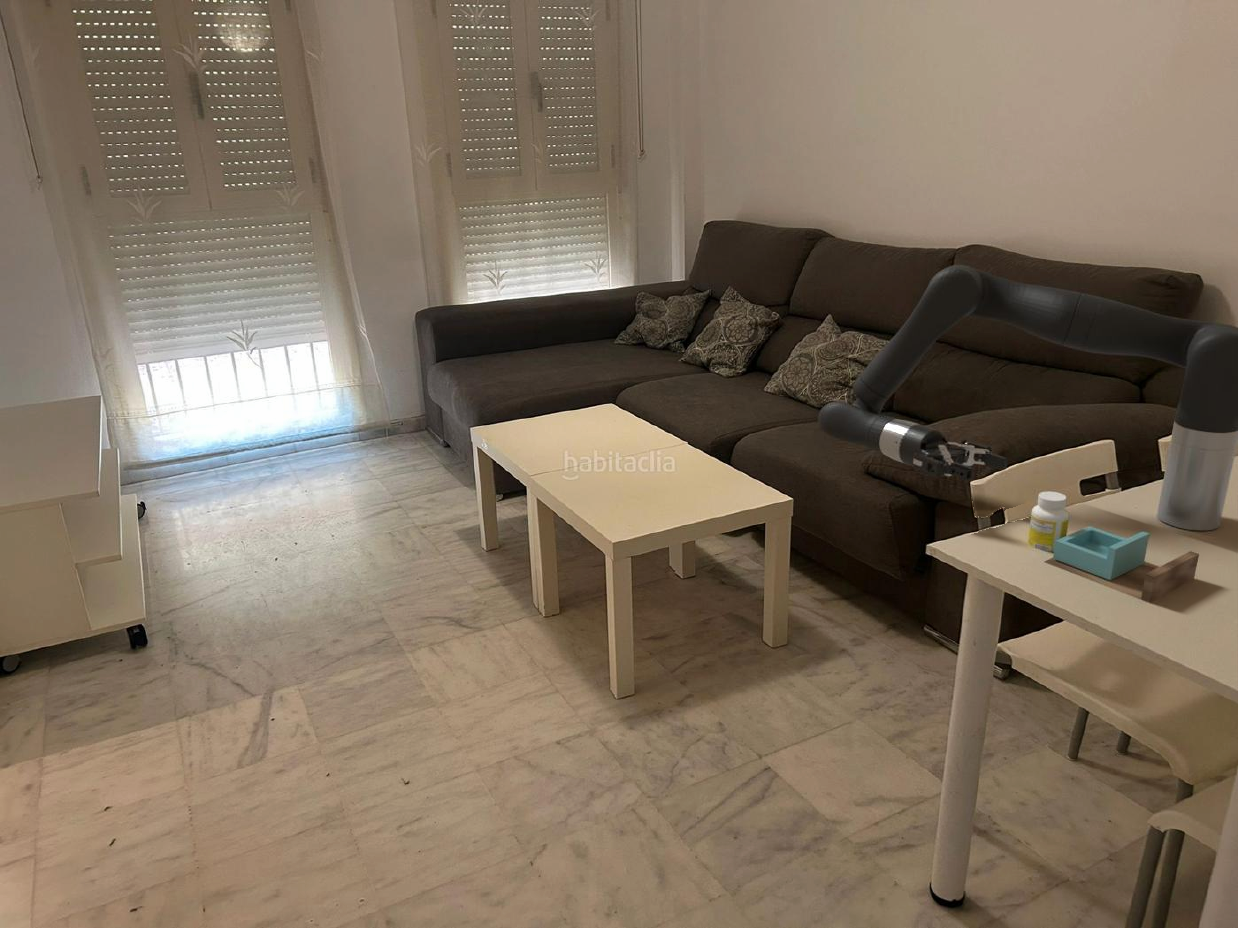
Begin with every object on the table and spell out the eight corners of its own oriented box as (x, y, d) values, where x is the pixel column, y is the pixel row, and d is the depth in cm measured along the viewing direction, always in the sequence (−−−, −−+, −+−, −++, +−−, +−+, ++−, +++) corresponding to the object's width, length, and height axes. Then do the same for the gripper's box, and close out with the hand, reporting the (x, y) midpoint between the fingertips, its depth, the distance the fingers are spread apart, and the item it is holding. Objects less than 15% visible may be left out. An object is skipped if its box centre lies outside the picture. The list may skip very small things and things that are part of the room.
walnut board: (1087, 550, 144) (1092, 518, 142) (1192, 587, 131) (1199, 553, 129) (1042, 570, 138) (1047, 537, 136) (1147, 612, 125) (1154, 576, 123)
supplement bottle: (1053, 544, 146) (1061, 488, 143) (1070, 559, 141) (1079, 501, 138) (1020, 545, 146) (1027, 490, 143) (1036, 560, 141) (1044, 503, 138)
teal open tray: (1086, 543, 142) (1091, 514, 140) (1143, 563, 135) (1149, 533, 133) (1053, 558, 137) (1057, 528, 136) (1110, 580, 130) (1115, 549, 129)
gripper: (886, 431, 157) (964, 457, 144) (939, 417, 164) (1019, 440, 151) (882, 471, 159) (959, 500, 146) (935, 455, 166) (1013, 481, 154)
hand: (989, 470), depth 149 cm, fingers open, 8 cm apart
